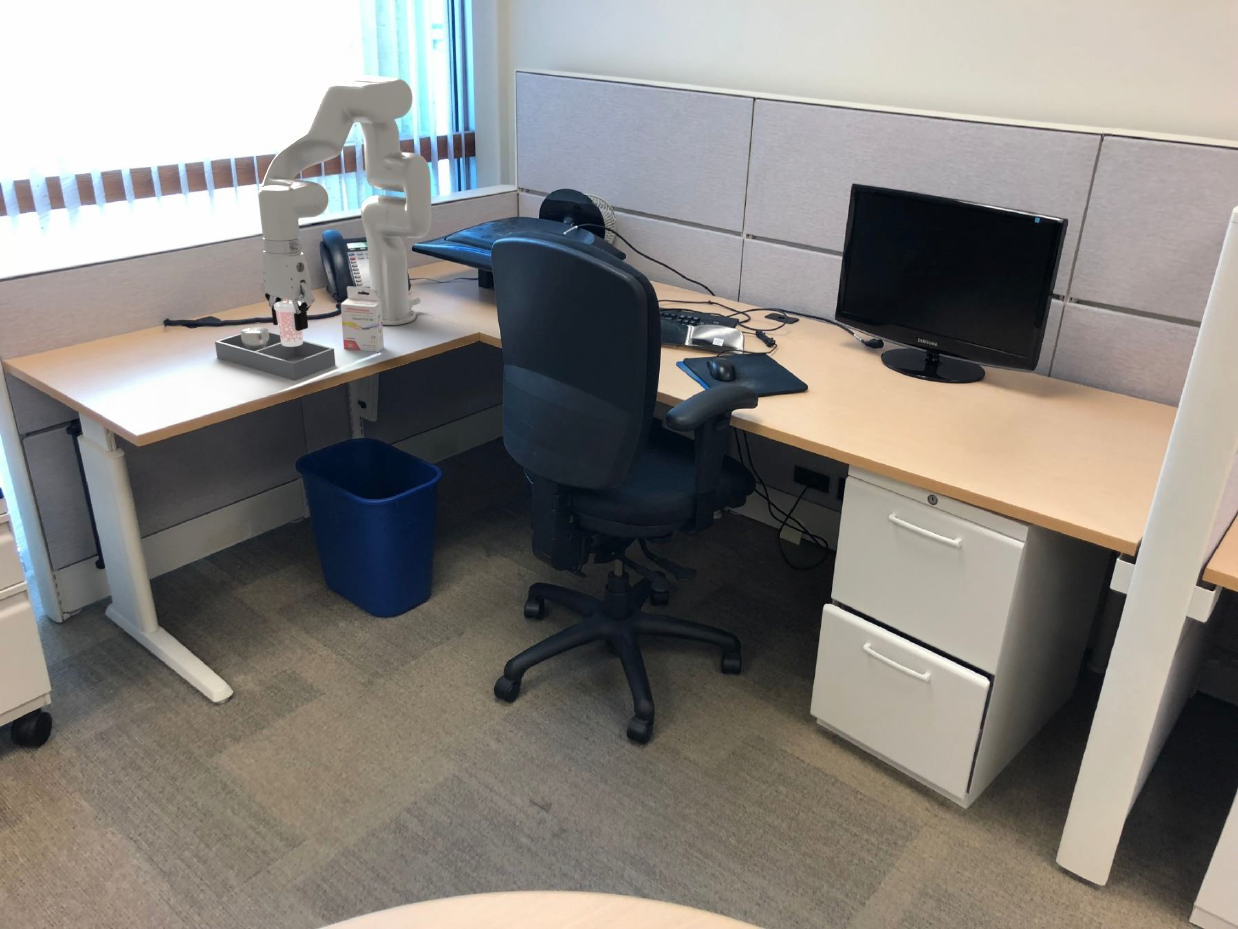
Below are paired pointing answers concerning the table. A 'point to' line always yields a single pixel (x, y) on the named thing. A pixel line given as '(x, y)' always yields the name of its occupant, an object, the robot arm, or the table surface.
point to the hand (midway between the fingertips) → (290, 325)
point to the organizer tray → (278, 356)
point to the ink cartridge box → (362, 320)
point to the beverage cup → (288, 324)
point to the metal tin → (255, 338)
